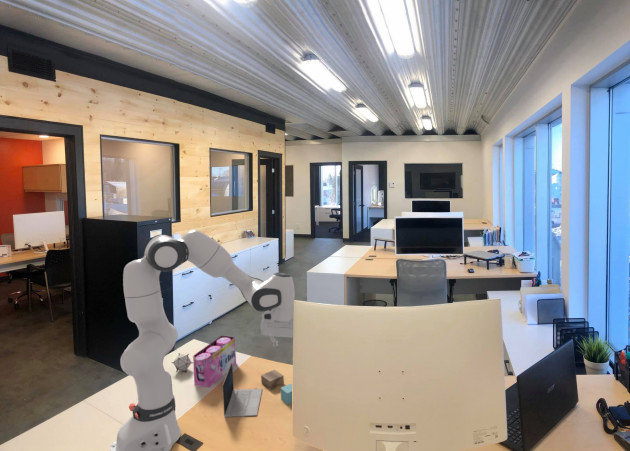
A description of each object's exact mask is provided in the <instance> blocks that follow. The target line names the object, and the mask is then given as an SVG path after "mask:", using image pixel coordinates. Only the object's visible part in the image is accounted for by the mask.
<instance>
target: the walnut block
mask: <svg viewBox="0 0 630 451" xmlns="http://www.w3.org/2000/svg"><path fill="white" fill-rule="evenodd" d="M260 377H261V378H260V379H261V385H263V386H264V387H266V388H267V389H269V390H274V389H275V388H278V387H280V386H281V385H284V384H285V382H284V381H285V380H284V377H285V376H284V375H283V374H282V373H280V372H279V371H278V370H276V369H273V370H271V371H268V372H266V373H263V374H261V375H260Z"/></svg>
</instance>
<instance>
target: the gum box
mask: <svg viewBox="0 0 630 451" xmlns="http://www.w3.org/2000/svg"><path fill="white" fill-rule="evenodd" d="M235 338H236V337H234V336H228V335H220V336H219V337H217V338H216V339H214V340H213V341H212V342H211V343H209V344H208V345H206V346H205V347H203V348H202V349H201V350H199V351H197V352H196V353H195V354H193V356H192V358H193V361H192V362H193V363H192V365H193V383H194V386H195V385H196V386H199V387H204V388H210V387H211V386H212V385H213V384H215V383H216V382H217V381H218V380H220V379H221V378H222V377H223V376H224V375H225V374H227V373H228V370H229V368H230V365H231V363H232V368H233V367H234V366H236V365H237V355H236V340H235Z"/></svg>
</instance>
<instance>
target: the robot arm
mask: <svg viewBox="0 0 630 451" xmlns="http://www.w3.org/2000/svg"><path fill="white" fill-rule="evenodd" d="M187 261H188V262H189V263H191V264H193V265H194V266H195V267H197V269H199V270H201V271H202V272H203V273H205V274H206V275H209V276H210V277H212V278H216V279H217V278H223V279H225V280H226V281H228V282H229V283H231V284H232V285H233V286H235V287H236V288H238V290H239V291H240V293H241V295H242V297H243V299H245V301H246V302H248V304H249V305H250V306H251V307H253V309H255V311H257V312H263V313H262V314H261V318H262V320H261V321H260V333H261V335H262V336H263V337H264V336H267V337H269V340H271V342H272V346H273V347H278V346H279V340H277V339H276V338H275V337H277V338H278V337H279V338H292V339H293V301H294V302H295V296H296V295H295V294H296V292H295V285H294V284H295V282H294V278H293V277H292V276H291V275H290V274H288V273H285V272H275V273H272V275H271V276H270V277H269V278H268V279H267V280H265V281H264V280H262V279H261V278H257V277H253V276H250V275H248V273H246V272H245V271H243V270H242V269H241V268H239V267H238V265H236V264H235V262H234V261H233V257H232V255H231V254H230V252H228V250H227V249H225V248H224V246H222V245H221V244H220V243H218V242H217V241H216V240H215V239H213V238H212V237H210V236H209V235H207V234H205V232H202V231H200V230H197V229H191V230H189V231H187V232H186V233H184V234H183V235H182V237H181V238H174V237H173V236H171V235H168V234H163V233H162V234H157V235H154V236H153V237H151V238H150V239H149V240H148V242H147V243H146V246H145V248H144V250H143V252H142V255H141V258H139V259H134V260H132V261H130V262H128V263H127V264H126V265H125V266H124V268H123V274H122V277H123V278H122V281H123V283H122V286H123V294H124V299H125V300H124V301H125V308H126V313H127V318H128V320H129V321H130V322H132V323H135V325H136V327H137V329H138V337H137V338H136V339H134V340H133V341H131V342H130V344H128V346H127V347H126V349H124V351H123V353H122V354H121V356H120V359H119V360H120V361H119V362H120V367H121V370H122V371H123V372H124V373H126V375H127V376H130V377H132V378H133V379H134V382H135V385H136V392H137V393H136V394H137V401H138V402H137V404H135V403H134V402H132V403H130V404H129V405H128V408H129V410H130V412H132V416H131V417H130V418H128V420H126V422H125V423H124V424H123V425H122V426H120V428H119V429H118V431H117V435H116V440H114V441H112V443H111V444H110V447H109V451H171V450H172V447H173V446H174V444H175V443H176V442H177V441H178V440H179V438H180V437H181V435H182V430H181V428H180V426H179V422H178V419H177V416H176V399H175V395H174V393H173V392H174V391H173V381H172V379H173V378H172V375H171V374H170V372H168V371H166V369H165V367H164V359H165V358H166V356H167V355H168V354H169V353H170V351H172V350H173V348H174V346H175V344H176V342H177V340H178V330H177V328H176V327H175V326H174V325H173V324H172V323H170V322H169V319H168V318H167V315H166V313H165V312H166V311H165V308H164V305H163V297H162V296H163V295H162V290H161V284H160V275H161V272H165V273H166V272H171V271H173V270H175V269H176V268H179V266H181V265H183V264H184V263H185V262H187Z"/></svg>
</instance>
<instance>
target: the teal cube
mask: <svg viewBox="0 0 630 451" xmlns="http://www.w3.org/2000/svg"><path fill="white" fill-rule="evenodd" d="M292 385H293V384H292V383H290V384H287V385H284V386H282V387H280V399H281V401H283V402H284V403H285V404H286V405H287V406H288V405H290V404H293V403H292Z"/></svg>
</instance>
